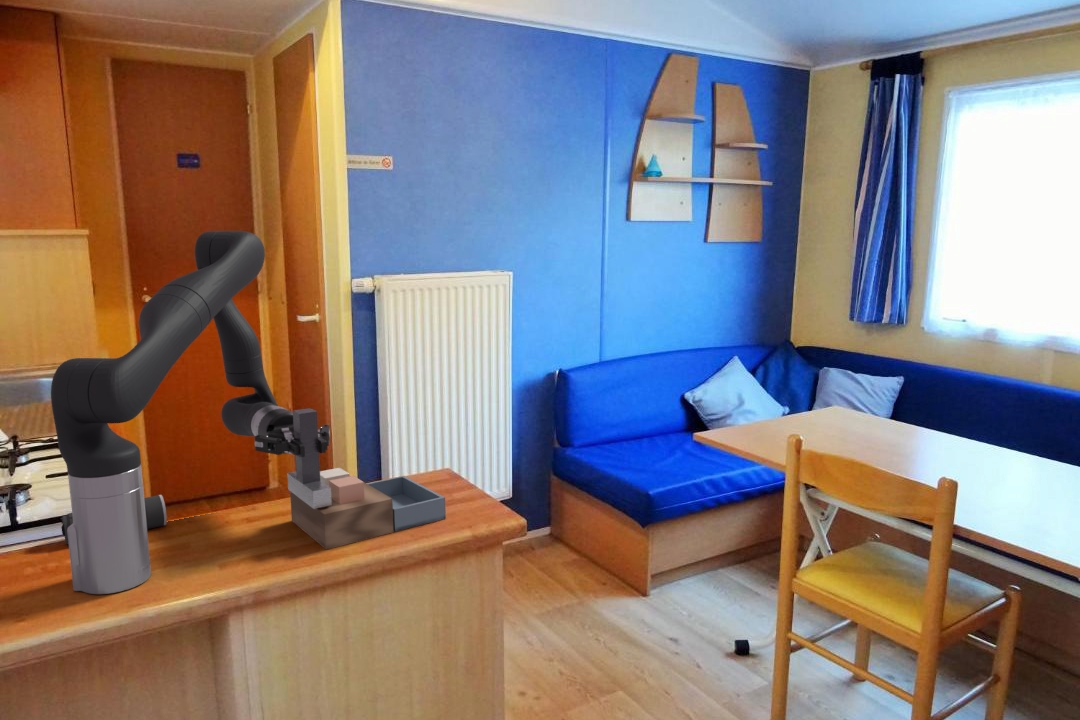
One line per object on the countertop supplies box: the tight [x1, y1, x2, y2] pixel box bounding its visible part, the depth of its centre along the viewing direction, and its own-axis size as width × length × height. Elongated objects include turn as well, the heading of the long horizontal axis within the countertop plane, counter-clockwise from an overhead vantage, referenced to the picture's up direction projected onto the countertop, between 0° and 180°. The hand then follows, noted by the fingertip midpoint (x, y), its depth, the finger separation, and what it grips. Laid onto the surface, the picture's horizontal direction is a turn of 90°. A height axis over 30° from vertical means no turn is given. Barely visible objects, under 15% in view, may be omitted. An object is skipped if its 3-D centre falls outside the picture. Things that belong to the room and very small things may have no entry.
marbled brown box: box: [289, 475, 395, 550], centre depth 132 cm, size 12×16×6 cm
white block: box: [320, 467, 351, 486], centre depth 134 cm, size 4×4×3 cm
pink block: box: [329, 475, 365, 504], centre depth 129 cm, size 4×4×3 cm
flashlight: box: [61, 494, 168, 545], centre depth 130 cm, size 15×5×5 cm, turn 127°
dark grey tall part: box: [286, 407, 332, 509], centre depth 127 cm, size 3×12×15 cm, turn 37°
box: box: [367, 475, 447, 532], centre depth 139 cm, size 10×16×4 cm, turn 37°
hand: (313, 449), depth 125 cm, fingers closed on dark grey tall part, 3 cm apart
